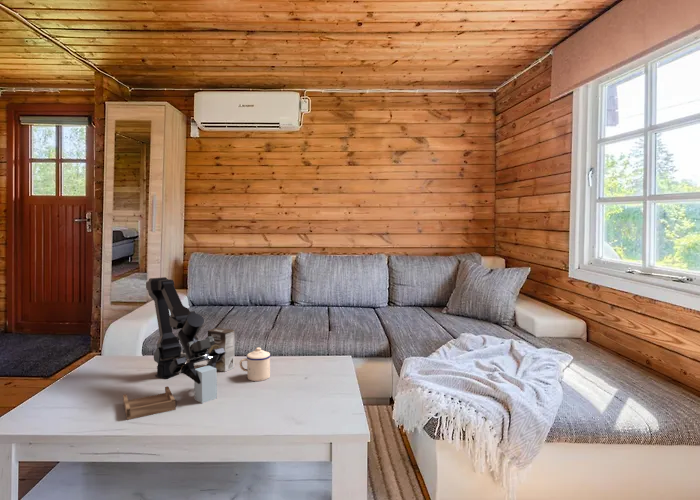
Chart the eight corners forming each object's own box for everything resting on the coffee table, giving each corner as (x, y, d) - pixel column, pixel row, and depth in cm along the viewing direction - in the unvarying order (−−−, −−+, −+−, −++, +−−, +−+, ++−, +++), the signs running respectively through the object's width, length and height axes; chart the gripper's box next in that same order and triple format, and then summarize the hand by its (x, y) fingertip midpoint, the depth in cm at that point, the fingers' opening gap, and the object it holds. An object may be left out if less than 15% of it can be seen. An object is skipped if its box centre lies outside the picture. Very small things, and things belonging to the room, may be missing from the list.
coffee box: (207, 369, 177) (206, 330, 176) (217, 364, 183) (217, 326, 182) (225, 372, 174) (224, 332, 173) (235, 367, 180) (234, 329, 179)
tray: (123, 403, 144) (123, 394, 143) (168, 394, 151) (168, 386, 151) (127, 419, 132) (126, 410, 132) (175, 409, 139) (175, 400, 139)
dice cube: (184, 361, 187) (184, 350, 187) (194, 362, 186) (194, 350, 186) (177, 365, 182) (177, 353, 182) (188, 366, 181) (188, 354, 181)
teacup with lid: (272, 373, 173) (272, 344, 172) (267, 381, 164) (267, 351, 163) (243, 372, 173) (242, 344, 172) (236, 381, 164) (236, 351, 163)
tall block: (194, 399, 147) (194, 369, 147) (209, 394, 151) (208, 365, 151) (202, 403, 144) (201, 372, 143) (217, 398, 148) (216, 368, 147)
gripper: (172, 335, 142) (190, 375, 135) (222, 324, 156) (240, 361, 149) (161, 353, 147) (178, 393, 141) (210, 342, 161) (228, 378, 155)
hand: (207, 380), depth 146 cm, fingers open, 6 cm apart
